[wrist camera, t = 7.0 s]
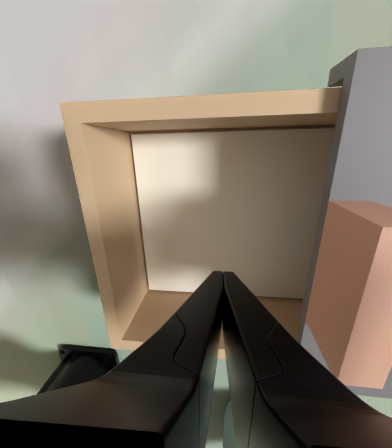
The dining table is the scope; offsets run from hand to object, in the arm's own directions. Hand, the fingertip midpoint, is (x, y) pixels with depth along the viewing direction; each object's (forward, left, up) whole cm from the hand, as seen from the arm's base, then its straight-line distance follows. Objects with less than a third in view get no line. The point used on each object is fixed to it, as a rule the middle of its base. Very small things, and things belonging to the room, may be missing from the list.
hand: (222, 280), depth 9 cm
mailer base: (+3, 0, -8) cm, 8 cm away
